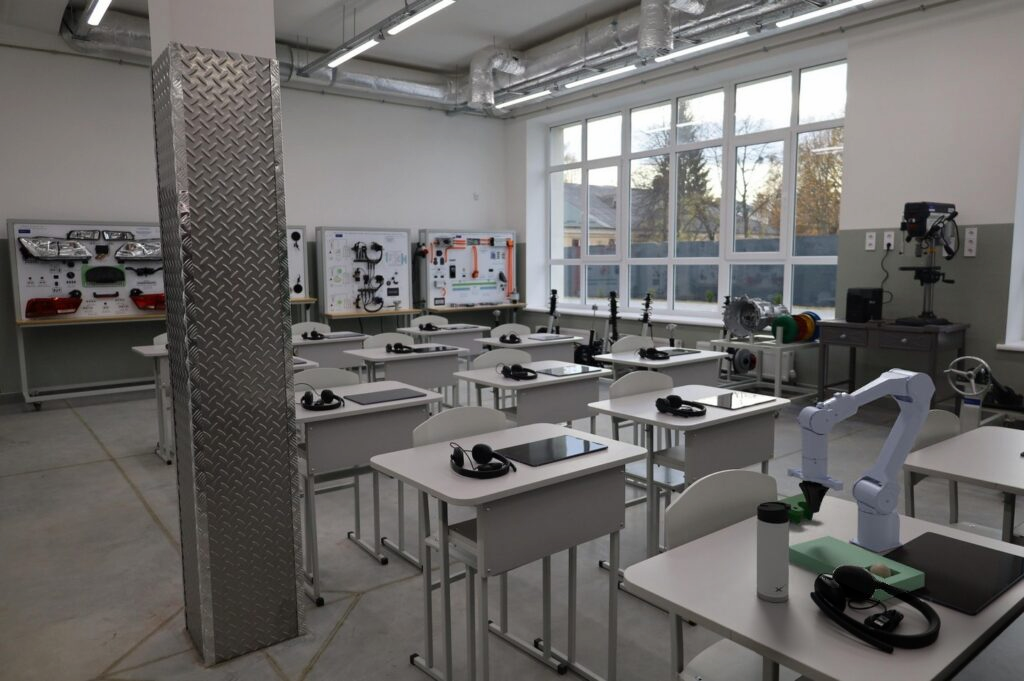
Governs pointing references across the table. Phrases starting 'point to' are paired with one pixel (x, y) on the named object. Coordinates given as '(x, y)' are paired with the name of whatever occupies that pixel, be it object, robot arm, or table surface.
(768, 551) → the travel mug
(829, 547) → the putting board
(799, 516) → the clamp
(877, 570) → the maple ball
